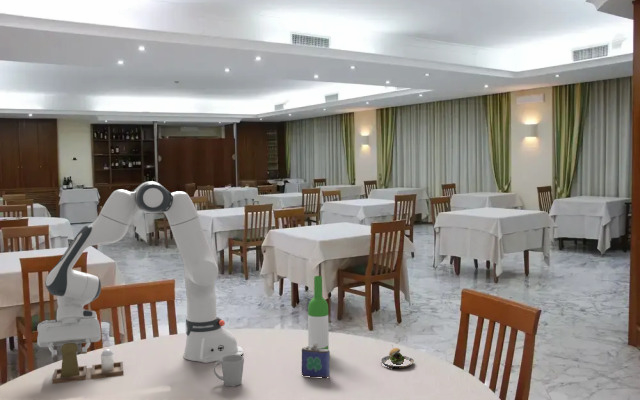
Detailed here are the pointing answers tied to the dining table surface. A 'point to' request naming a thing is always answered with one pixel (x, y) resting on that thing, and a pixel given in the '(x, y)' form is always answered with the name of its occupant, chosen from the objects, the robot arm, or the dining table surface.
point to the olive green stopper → (69, 360)
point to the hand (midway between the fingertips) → (69, 354)
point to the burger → (396, 358)
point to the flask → (315, 362)
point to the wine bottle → (318, 318)
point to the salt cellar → (107, 361)
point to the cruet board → (89, 373)
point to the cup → (231, 369)
